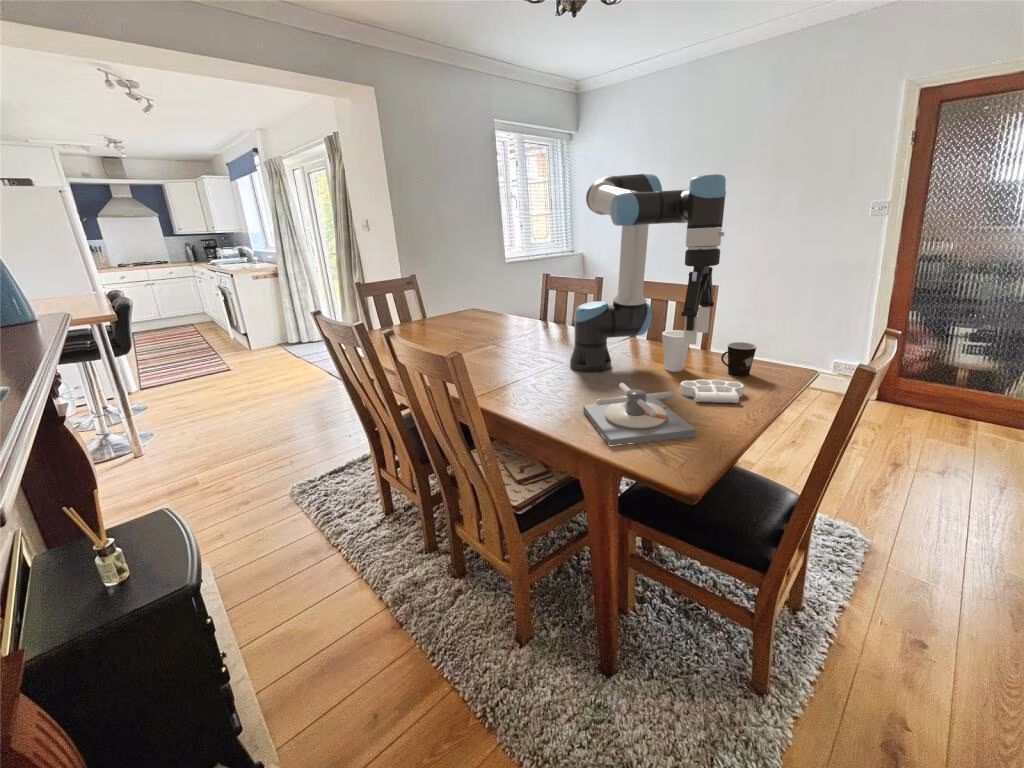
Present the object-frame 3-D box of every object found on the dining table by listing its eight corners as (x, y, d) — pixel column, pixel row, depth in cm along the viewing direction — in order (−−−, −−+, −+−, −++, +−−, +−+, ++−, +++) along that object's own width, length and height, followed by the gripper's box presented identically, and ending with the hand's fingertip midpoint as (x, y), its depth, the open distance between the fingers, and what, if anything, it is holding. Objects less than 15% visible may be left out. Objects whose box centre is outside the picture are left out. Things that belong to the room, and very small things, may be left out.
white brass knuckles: (684, 404, 134) (677, 387, 148) (750, 406, 131) (737, 388, 144) (684, 393, 133) (678, 377, 147) (751, 395, 130) (738, 378, 143)
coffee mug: (746, 369, 158) (750, 341, 155) (756, 378, 150) (761, 348, 147) (711, 370, 160) (714, 342, 156) (720, 378, 152) (723, 349, 148)
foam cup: (693, 369, 162) (696, 333, 157) (676, 374, 157) (679, 338, 153) (670, 363, 169) (673, 328, 165) (654, 368, 165) (656, 333, 160)
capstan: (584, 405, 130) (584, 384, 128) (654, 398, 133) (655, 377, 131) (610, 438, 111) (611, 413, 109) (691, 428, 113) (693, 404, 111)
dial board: (583, 411, 132) (583, 404, 131) (655, 403, 135) (655, 396, 134) (609, 446, 112) (610, 438, 111) (694, 436, 114) (695, 428, 113)
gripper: (709, 250, 94) (701, 350, 101) (729, 244, 114) (721, 329, 120) (671, 251, 98) (666, 347, 105) (697, 245, 118) (692, 327, 124)
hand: (696, 337), depth 112 cm, fingers open, 13 cm apart
